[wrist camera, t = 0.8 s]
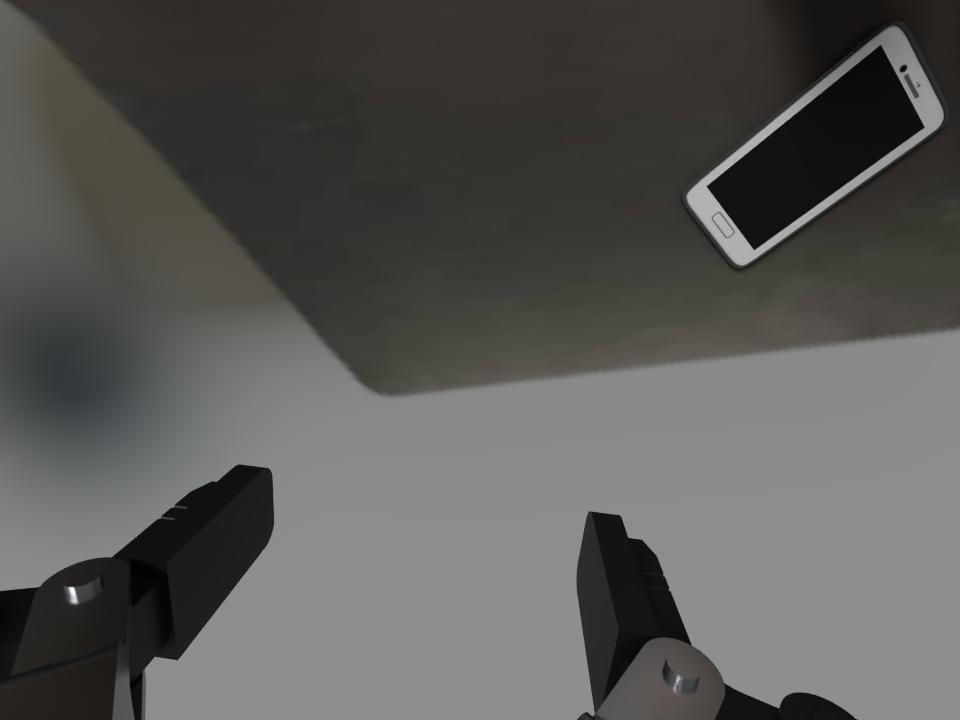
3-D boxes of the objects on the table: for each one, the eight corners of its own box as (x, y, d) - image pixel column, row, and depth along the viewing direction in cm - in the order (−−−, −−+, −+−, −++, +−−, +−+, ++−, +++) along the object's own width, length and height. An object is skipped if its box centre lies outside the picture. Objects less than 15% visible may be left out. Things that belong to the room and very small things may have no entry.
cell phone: (673, 194, 34) (677, 197, 33) (891, 13, 28) (903, 10, 27) (732, 270, 36) (737, 274, 36) (945, 118, 30) (957, 119, 30)
